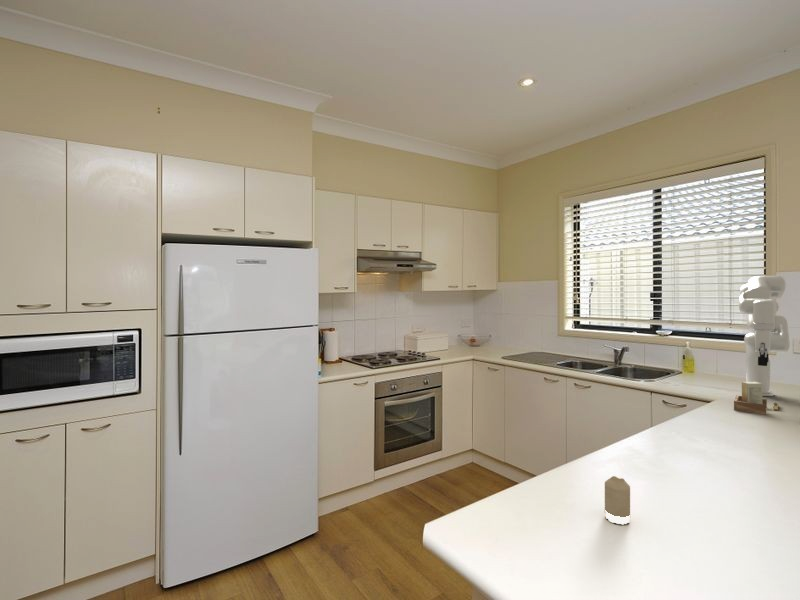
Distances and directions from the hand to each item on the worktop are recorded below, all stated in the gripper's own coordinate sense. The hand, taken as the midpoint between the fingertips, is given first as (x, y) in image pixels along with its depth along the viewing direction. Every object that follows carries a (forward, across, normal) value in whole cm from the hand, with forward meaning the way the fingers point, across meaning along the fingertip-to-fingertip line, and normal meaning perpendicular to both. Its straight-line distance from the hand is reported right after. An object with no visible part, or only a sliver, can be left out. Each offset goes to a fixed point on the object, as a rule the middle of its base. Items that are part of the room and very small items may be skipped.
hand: (763, 363), depth 196 cm
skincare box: (+20, +9, -3) cm, 22 cm away
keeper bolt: (+19, 0, +4) cm, 20 cm away
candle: (+16, +148, -20) cm, 150 cm away
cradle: (+20, +9, -4) cm, 22 cm away
